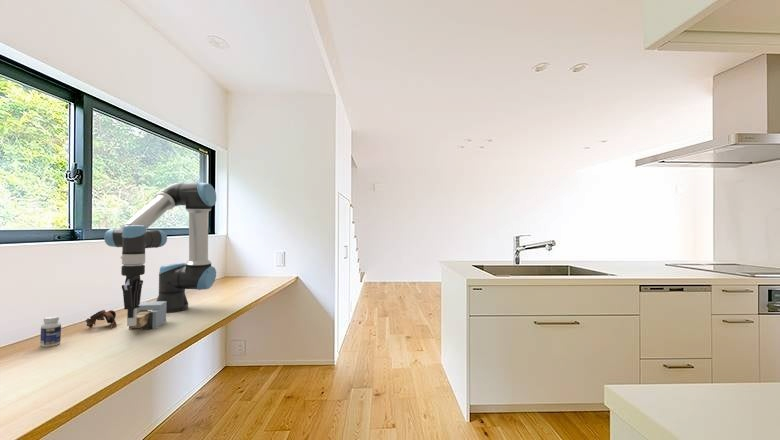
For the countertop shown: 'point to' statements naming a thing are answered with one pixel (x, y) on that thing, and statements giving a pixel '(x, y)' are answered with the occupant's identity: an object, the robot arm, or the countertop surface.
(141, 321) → the peg
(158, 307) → the sleeve block
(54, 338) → the pill bottle
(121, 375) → the countertop surface
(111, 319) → the brown curved piece
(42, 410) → the countertop surface
